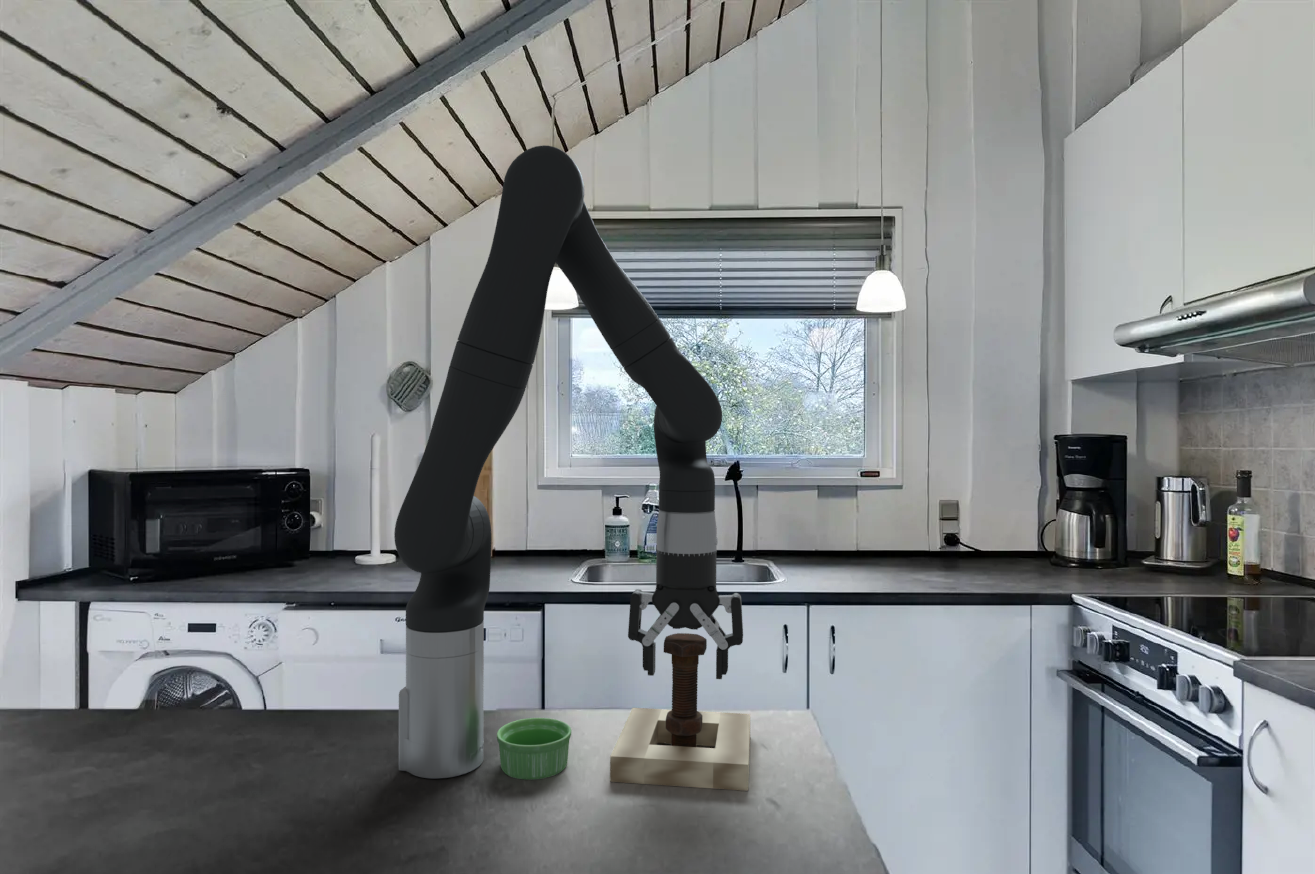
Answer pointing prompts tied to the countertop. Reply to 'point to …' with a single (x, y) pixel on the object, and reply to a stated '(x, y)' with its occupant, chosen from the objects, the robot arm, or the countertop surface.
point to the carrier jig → (683, 752)
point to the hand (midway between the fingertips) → (685, 675)
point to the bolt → (684, 687)
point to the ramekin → (534, 747)
